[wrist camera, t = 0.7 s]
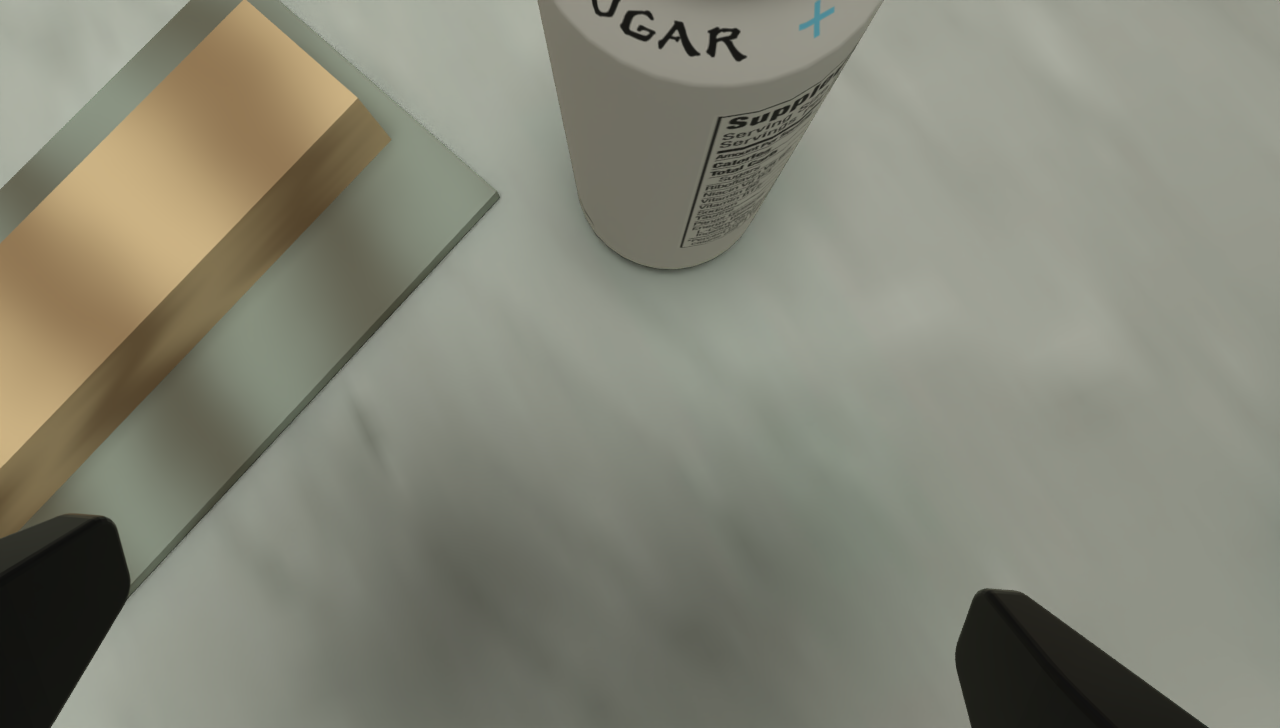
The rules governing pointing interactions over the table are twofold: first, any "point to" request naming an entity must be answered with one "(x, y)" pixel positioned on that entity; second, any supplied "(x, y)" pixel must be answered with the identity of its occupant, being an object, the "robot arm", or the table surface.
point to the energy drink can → (689, 110)
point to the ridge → (204, 267)
